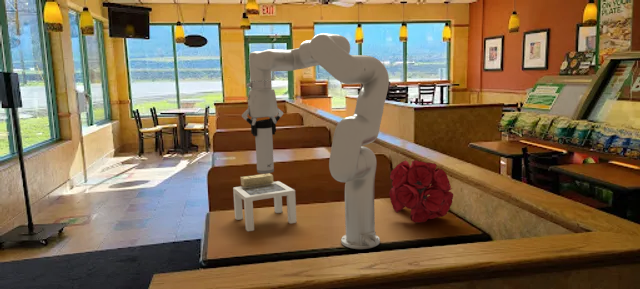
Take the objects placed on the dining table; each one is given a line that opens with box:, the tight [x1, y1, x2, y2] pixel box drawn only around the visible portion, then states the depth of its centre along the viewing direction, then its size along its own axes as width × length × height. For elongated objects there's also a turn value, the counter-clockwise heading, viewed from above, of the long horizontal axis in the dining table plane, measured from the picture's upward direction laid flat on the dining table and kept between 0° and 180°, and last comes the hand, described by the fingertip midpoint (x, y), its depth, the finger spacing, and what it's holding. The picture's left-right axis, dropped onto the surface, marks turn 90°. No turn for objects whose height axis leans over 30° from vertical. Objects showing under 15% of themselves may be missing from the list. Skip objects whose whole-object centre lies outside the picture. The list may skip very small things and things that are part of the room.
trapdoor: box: [240, 173, 284, 195], centre depth 171 cm, size 16×13×4 cm
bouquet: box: [388, 159, 454, 223], centre depth 167 cm, size 22×24×30 cm
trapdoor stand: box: [232, 180, 298, 232], centre depth 170 cm, size 18×19×12 cm
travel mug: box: [254, 118, 275, 174], centre depth 165 cm, size 6×7×20 cm
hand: (263, 134), depth 164 cm, fingers closed on travel mug, 6 cm apart
